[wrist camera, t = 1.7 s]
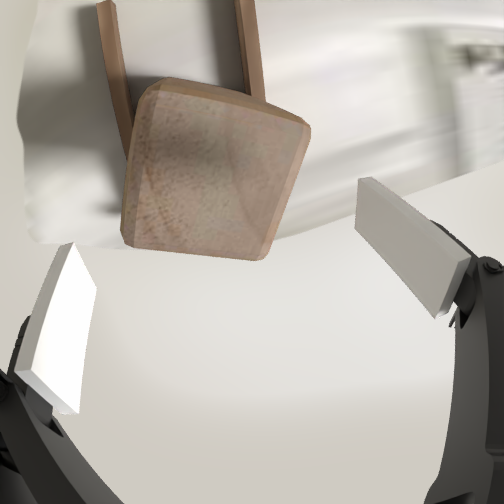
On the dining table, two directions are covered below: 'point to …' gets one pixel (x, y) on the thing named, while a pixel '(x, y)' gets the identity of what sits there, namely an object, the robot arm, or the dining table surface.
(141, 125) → the wooden block
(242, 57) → the frame
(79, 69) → the dining table surface
